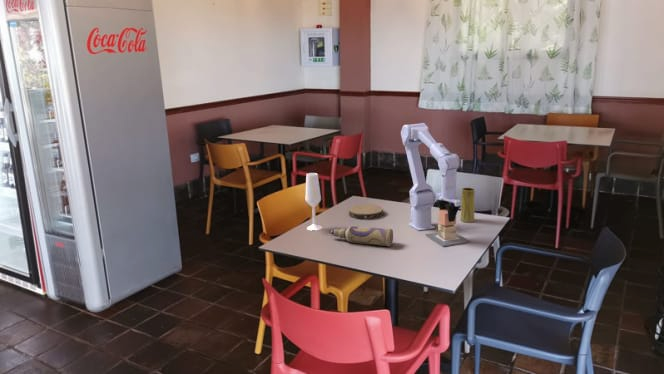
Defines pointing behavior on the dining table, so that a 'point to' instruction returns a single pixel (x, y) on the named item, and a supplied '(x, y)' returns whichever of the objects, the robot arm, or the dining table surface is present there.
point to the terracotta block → (444, 218)
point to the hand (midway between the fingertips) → (447, 219)
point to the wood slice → (366, 211)
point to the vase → (467, 205)
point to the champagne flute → (313, 196)
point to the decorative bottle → (366, 235)
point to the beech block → (447, 231)
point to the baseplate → (450, 242)
